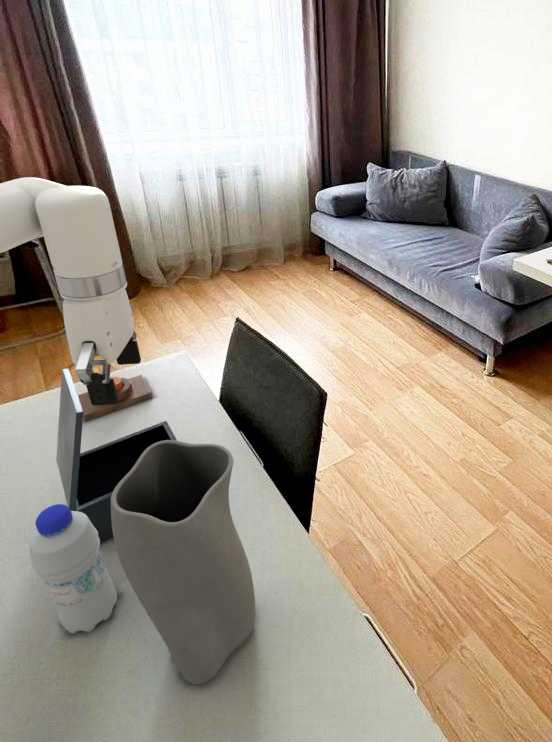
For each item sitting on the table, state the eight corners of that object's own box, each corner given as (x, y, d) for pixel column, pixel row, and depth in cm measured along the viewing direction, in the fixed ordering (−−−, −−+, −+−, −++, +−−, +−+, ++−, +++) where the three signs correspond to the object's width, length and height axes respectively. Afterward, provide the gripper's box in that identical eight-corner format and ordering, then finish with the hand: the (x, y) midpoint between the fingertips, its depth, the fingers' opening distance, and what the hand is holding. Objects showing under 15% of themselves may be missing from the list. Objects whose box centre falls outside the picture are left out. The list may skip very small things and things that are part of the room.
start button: (104, 396, 102) (102, 389, 101) (101, 387, 104) (99, 380, 103) (124, 389, 104) (123, 382, 103) (120, 381, 106) (119, 374, 105)
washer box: (174, 456, 93) (166, 420, 89) (196, 499, 85) (188, 461, 81) (74, 499, 83) (60, 461, 79) (88, 553, 75) (73, 512, 71)
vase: (217, 715, 58) (173, 545, 45) (136, 675, 61) (73, 505, 48) (280, 614, 69) (259, 453, 56) (208, 584, 72) (172, 425, 59)
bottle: (49, 632, 65) (-1, 528, 56) (93, 584, 71) (55, 483, 62) (91, 647, 64) (47, 543, 55) (133, 597, 70) (99, 496, 61)
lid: (68, 368, 75) (61, 368, 75) (83, 411, 67) (76, 412, 67) (62, 458, 80) (56, 459, 79) (75, 509, 71) (69, 511, 71)
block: (86, 424, 99) (81, 408, 97) (79, 403, 104) (74, 388, 103) (153, 400, 107) (149, 385, 105) (143, 382, 112) (139, 367, 110)
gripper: (87, 254, 73) (111, 351, 80) (25, 311, 58) (62, 424, 65) (144, 254, 75) (162, 348, 82) (98, 309, 60) (126, 419, 67)
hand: (118, 382), depth 74 cm, fingers open, 9 cm apart
